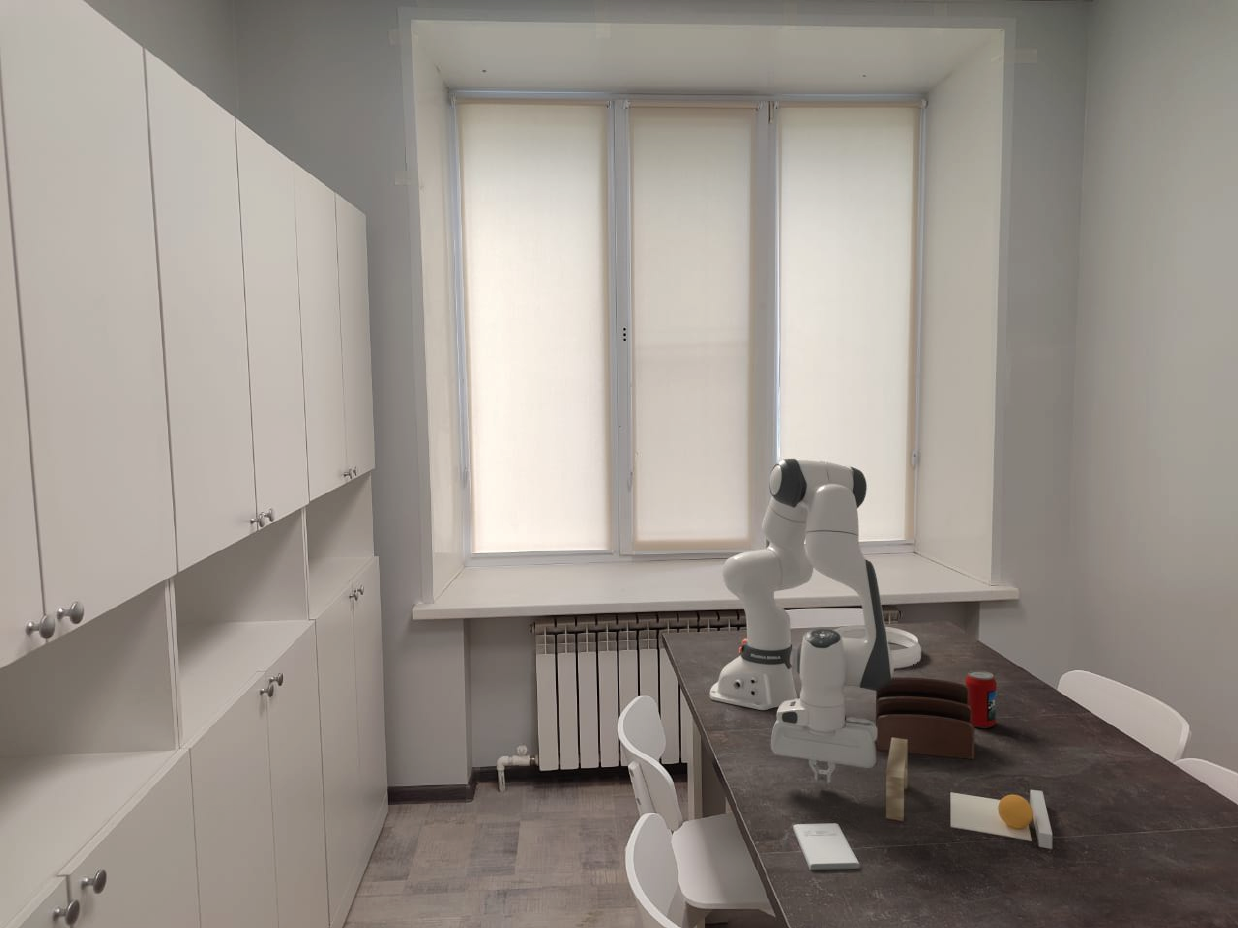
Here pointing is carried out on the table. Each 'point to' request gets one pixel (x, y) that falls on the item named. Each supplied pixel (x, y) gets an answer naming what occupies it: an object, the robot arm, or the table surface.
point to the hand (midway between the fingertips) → (822, 780)
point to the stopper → (1041, 819)
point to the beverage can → (982, 698)
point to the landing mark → (982, 817)
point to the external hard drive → (825, 846)
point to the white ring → (894, 636)
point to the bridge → (896, 779)
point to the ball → (1015, 811)
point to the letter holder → (926, 717)
